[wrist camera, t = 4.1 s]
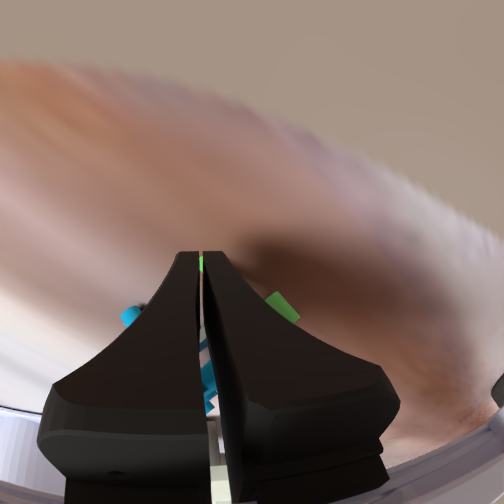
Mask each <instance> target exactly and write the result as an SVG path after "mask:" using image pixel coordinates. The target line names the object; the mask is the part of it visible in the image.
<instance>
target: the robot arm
mask: <svg viewBox="0 0 504 504" xmlns="http://www.w3.org/2000/svg"><path fill="white" fill-rule="evenodd" d="M203 316H204V328H205V333H206V339H207V344H208V349H209V353H210V358H211V363H212V368H213V372H214V377H215V381H216V387H217V393H218V401H219V409H220V417H221V425H222V433H223V441H224V449H225V457H226V465H227V472H228V480H229V487H230V494H231V502H232V504H367V503H368V504H493V503H495V502H496V501H497V500H498V499H499V498H500V497H501V496H503V495H504V406H502V407H501V408H500V409H499V410H498V411H497V412H496V413H495V414H494V415H493V416H492V417H491V418H490V419H489V420H488V422H487V423H486V424H484V425H482V426H480V427H479V428H477V429H475V430H473V431H471V432H470V433H468V434H466V435H464V436H462V437H460V438H458V439H456V440H454V441H452V442H450V443H448V444H446V445H444V446H442V447H440V448H438V449H435V450H433V451H431V452H429V453H426V454H424V455H422V456H420V457H417V458H415V459H412V460H410V461H407V462H405V463H402V464H400V465H397V466H394V467H392V468H389V469H386V468H385V466H384V464H383V462H382V459H381V457H380V455H379V454H381V453H382V452H383V446H382V444H381V442H380V440H379V437H380V436H381V435H382V434H383V432H384V431H385V430H386V429H387V427H388V426H389V425H390V424H391V422H392V421H393V420H394V418H395V416H396V415H397V413H398V411H399V408H400V402H401V401H400V399H399V397H398V395H397V393H396V391H395V389H394V388H393V386H392V384H391V382H390V380H389V378H388V377H387V375H386V374H385V372H384V371H383V369H382V368H381V366H379V365H376V364H373V363H371V362H368V361H365V360H363V359H360V358H358V357H355V356H352V355H350V354H347V353H345V352H343V351H341V350H339V349H337V348H335V347H333V346H331V345H329V344H327V343H325V342H323V341H321V340H319V339H317V338H316V337H314V336H312V335H310V334H309V333H307V332H306V331H304V330H302V329H301V328H299V327H298V326H296V325H295V324H293V323H292V322H290V321H289V320H287V319H286V318H285V317H284V316H282V315H281V314H280V313H278V312H277V311H276V310H275V309H273V308H272V307H271V306H270V305H269V304H268V303H266V302H265V301H264V300H263V299H262V298H261V297H260V296H259V295H258V294H257V293H256V292H255V291H254V290H253V289H252V288H251V286H250V285H249V284H248V283H247V282H246V281H245V280H244V279H243V277H242V276H241V275H240V274H239V273H238V271H237V270H236V269H235V267H234V266H233V265H232V264H231V262H230V261H229V259H228V258H227V257H226V255H225V254H224V253H223V252H222V251H203ZM199 348H200V259H199V251H188V252H179V253H178V254H177V255H176V257H175V260H174V262H173V264H172V266H171V268H170V270H169V272H168V274H167V276H166V277H165V279H164V281H163V282H162V284H161V285H160V287H159V289H158V290H157V291H156V293H155V294H154V296H153V297H152V299H151V300H150V301H149V303H148V304H147V305H146V307H145V308H144V309H143V310H142V312H141V313H140V314H139V315H138V316H137V318H136V319H135V320H134V321H133V322H132V323H131V324H130V325H129V326H128V327H127V328H126V329H125V330H124V331H123V332H122V333H121V334H120V335H119V336H118V337H117V338H116V339H115V340H114V341H113V342H112V343H111V344H110V345H109V346H107V347H106V348H105V349H104V350H102V351H101V352H100V353H99V354H97V355H96V356H95V357H94V358H92V359H91V360H90V361H88V362H87V363H85V364H84V365H83V366H81V367H80V368H78V369H76V370H75V371H73V372H72V373H70V374H69V375H67V376H65V377H64V378H62V379H61V380H59V381H57V382H55V383H54V384H53V385H52V388H51V390H50V393H49V395H48V397H47V400H46V402H45V405H44V408H43V412H42V415H37V414H32V413H26V412H21V411H16V410H11V409H6V408H1V407H0V504H212V494H211V472H210V453H209V435H208V427H207V418H206V409H205V402H204V394H203V386H202V378H201V369H200V360H199Z"/></svg>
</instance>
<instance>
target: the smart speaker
mask: <svg viewBox="0 0 504 504" xmlns="http://www.w3.org/2000/svg"><path fill="white" fill-rule="evenodd" d="M492 398H493V399H494V401H495V402H496V404H497V405H498V407H499V408H501V407H502V406H504V374H503V375H502V376H501V378H500V379H499V380H498V381H497V383H496V384H495V386H494V388H493V390H492Z"/></svg>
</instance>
